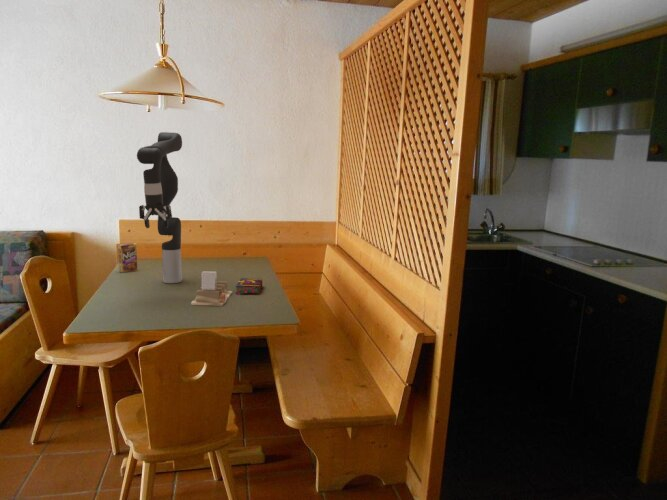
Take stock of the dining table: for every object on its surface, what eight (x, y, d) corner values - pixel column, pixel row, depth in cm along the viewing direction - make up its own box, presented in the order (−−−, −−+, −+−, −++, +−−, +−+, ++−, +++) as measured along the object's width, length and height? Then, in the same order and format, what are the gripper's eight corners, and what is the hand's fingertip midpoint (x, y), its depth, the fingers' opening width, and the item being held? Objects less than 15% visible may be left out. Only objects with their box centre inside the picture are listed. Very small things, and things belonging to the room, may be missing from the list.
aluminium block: (203, 299, 235) (203, 271, 232) (216, 299, 235) (216, 271, 232) (202, 301, 232) (201, 272, 229) (215, 301, 232) (214, 273, 229)
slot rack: (203, 292, 249) (203, 280, 248) (232, 293, 248) (232, 281, 247) (191, 304, 229) (190, 291, 228) (222, 305, 229) (222, 292, 228)
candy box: (122, 273, 282) (120, 245, 279) (118, 271, 285) (117, 244, 282) (138, 270, 288) (136, 243, 285) (134, 269, 291) (133, 242, 288)
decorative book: (262, 287, 262) (262, 277, 261) (259, 295, 247) (259, 285, 246) (240, 286, 262) (240, 276, 261) (235, 295, 246) (235, 285, 245)
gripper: (172, 191, 237) (175, 226, 241) (141, 191, 238) (145, 225, 242) (165, 194, 229) (168, 230, 234) (134, 194, 230) (138, 229, 235)
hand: (156, 227), depth 238 cm, fingers open, 8 cm apart
